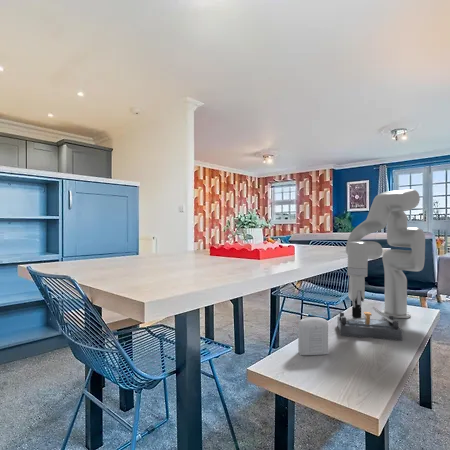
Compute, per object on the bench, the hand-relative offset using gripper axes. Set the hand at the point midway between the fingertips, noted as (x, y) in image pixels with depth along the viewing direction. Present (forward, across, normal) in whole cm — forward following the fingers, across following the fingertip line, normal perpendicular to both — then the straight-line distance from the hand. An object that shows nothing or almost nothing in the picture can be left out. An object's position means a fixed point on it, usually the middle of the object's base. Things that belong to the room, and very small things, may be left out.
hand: (356, 317), depth 127 cm
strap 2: (-1, -1, +10) cm, 10 cm away
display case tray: (+6, -1, +4) cm, 8 cm away
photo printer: (+8, +25, -18) cm, 31 cm away
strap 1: (+1, -1, -1) cm, 2 cm away
